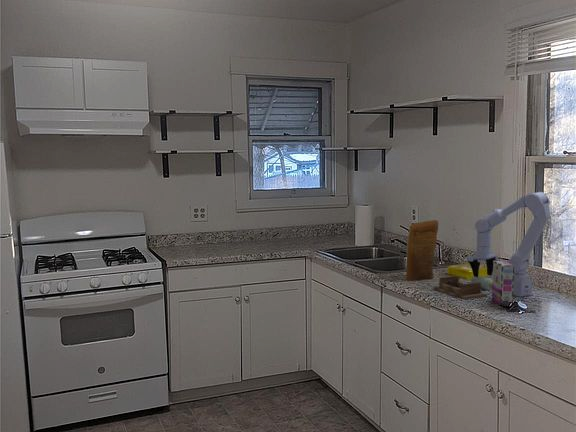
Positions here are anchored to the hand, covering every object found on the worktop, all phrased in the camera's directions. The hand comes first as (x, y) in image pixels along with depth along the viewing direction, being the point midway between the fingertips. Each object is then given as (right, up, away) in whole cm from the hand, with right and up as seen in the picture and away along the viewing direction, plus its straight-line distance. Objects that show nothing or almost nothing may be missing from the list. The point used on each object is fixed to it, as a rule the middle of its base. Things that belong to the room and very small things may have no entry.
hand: (482, 275), depth 255 cm
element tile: (+2, -3, +27) cm, 28 cm away
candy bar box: (-1, -8, -26) cm, 27 cm away
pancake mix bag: (-23, -4, +19) cm, 30 cm away
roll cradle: (-13, -6, -8) cm, 16 cm away
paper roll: (0, -3, 0) cm, 3 cm away
